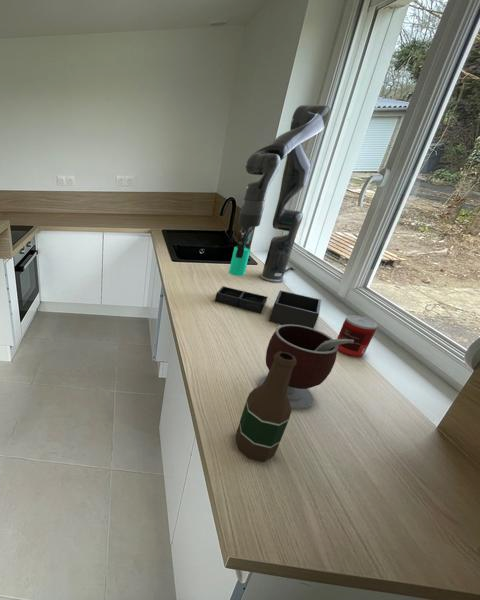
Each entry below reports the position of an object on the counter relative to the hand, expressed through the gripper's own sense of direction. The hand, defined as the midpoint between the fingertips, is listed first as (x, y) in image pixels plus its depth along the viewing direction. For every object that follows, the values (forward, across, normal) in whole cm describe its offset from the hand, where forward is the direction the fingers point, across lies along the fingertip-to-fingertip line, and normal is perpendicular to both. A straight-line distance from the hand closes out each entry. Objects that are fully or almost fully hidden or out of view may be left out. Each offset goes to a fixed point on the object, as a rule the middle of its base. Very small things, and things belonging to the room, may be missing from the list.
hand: (240, 255), depth 126 cm
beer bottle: (+20, -74, -23) cm, 80 cm away
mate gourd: (+20, -50, -27) cm, 60 cm away
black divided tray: (+20, 0, -4) cm, 20 cm away
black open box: (+20, -2, -23) cm, 31 cm away
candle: (+8, 0, 0) cm, 8 cm away
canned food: (+20, -15, -40) cm, 47 cm away
